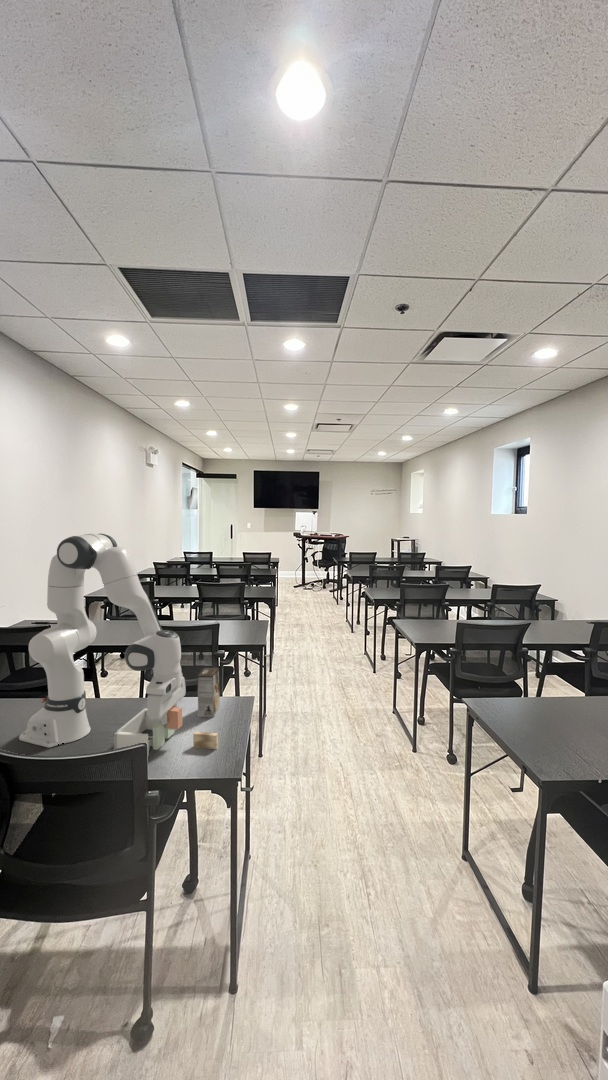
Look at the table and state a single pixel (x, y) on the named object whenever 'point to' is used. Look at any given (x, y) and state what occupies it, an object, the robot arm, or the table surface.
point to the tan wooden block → (205, 740)
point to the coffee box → (208, 692)
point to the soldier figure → (150, 742)
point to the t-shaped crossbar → (167, 727)
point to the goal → (135, 730)
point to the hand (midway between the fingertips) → (168, 720)
